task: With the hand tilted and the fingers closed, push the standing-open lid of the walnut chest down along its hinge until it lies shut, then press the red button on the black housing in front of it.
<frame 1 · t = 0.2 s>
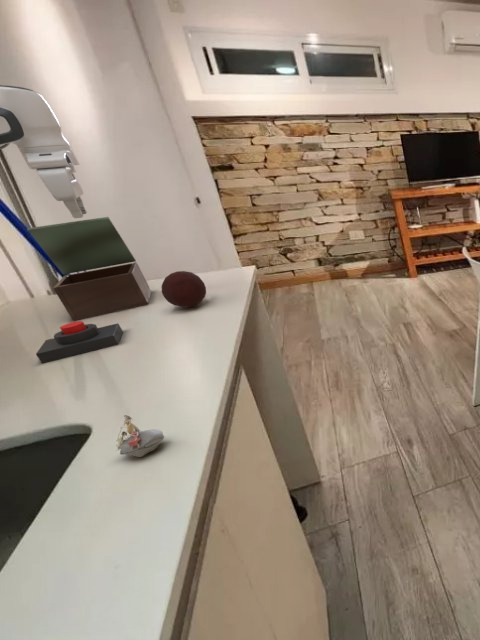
hand: (80, 216, 123), 23 cm above the worktop, tool pointing down, fingers open, 8 cm apart
dark brown oval ball: (192, 306, 124), on the worktop
figurine: (146, 452, 68), on the worktop
chest lid: (85, 246, 124), point 16 cm above the worktop, hinge at 62.1°
button box: (85, 346, 104), on the worktop
chest: (115, 305, 128), on the worktop
button: (73, 328, 102), point 4 cm above the worktop, slide at 0.1 cm
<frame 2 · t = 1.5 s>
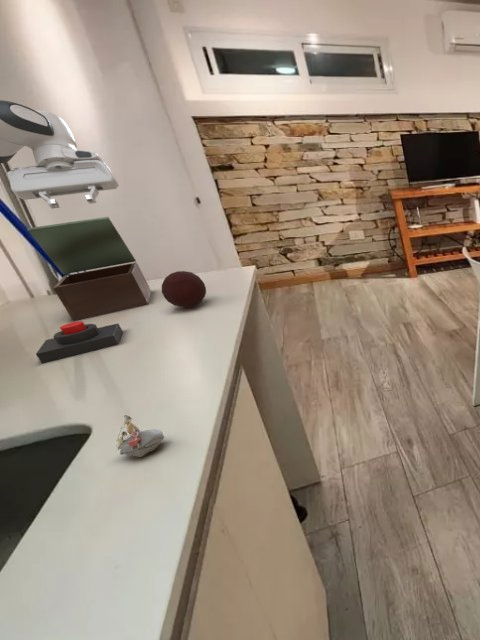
hand: (73, 204, 128), 25 cm above the worktop, tool tilted 45°, fingers open, 6 cm apart
nothing on the worktop moved.
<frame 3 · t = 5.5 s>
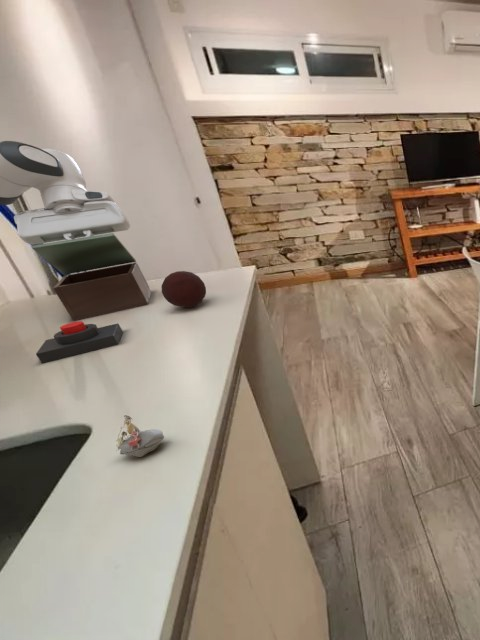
hand: (83, 248, 121), 16 cm above the worktop, tool tilted 45°, fingers closed
chest lid: (88, 254, 123), point 14 cm above the worktop, hinge at 39.4°
everything else where it was.
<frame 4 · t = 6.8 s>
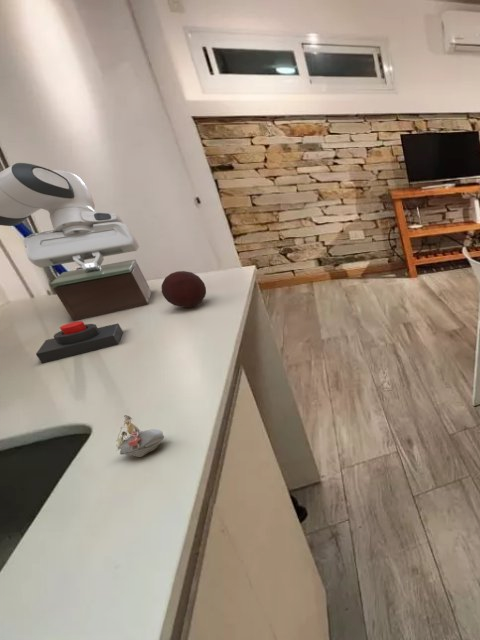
hand: (92, 270, 121), 11 cm above the worktop, tool tilted 45°, fingers closed, pressing on chest lid
chest lid: (96, 272, 124), point 10 cm above the worktop, hinge at 1.2°, touching gripper
everything else where it was.
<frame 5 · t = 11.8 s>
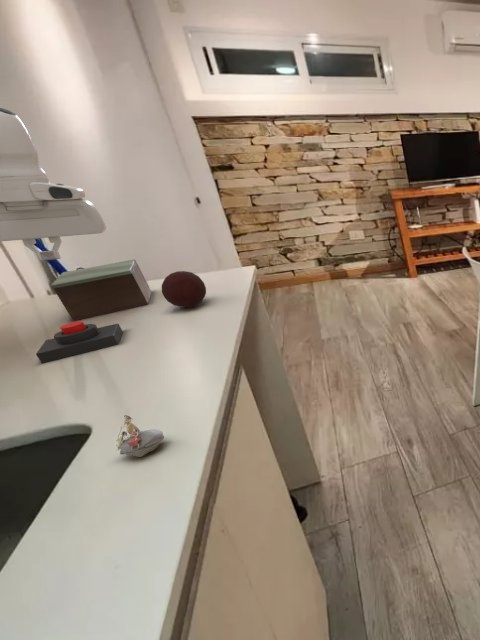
hand: (50, 259, 101), 18 cm above the worktop, tool pointing down, fingers closed
chest lid: (96, 272, 124), point 9 cm above the worktop, hinge at -0.2°, touching chest
everything else where it was.
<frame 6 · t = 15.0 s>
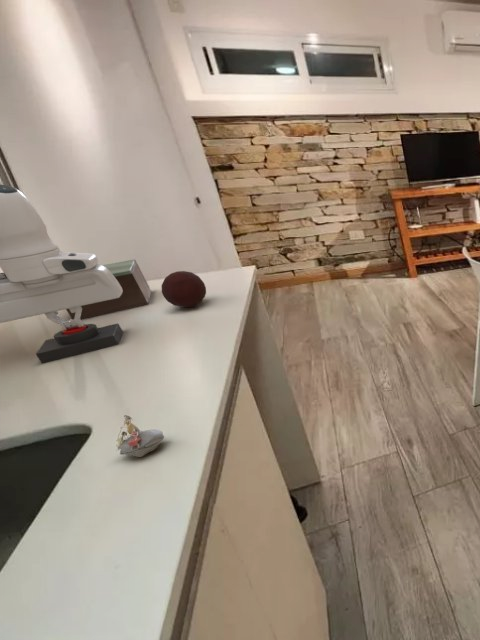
hand: (74, 328, 102), 4 cm above the worktop, tool pointing down, fingers closed, pressing on button
button: (76, 332, 103), point 4 cm above the worktop, slide at -0.8 cm, touching gripper
everything else where it was.
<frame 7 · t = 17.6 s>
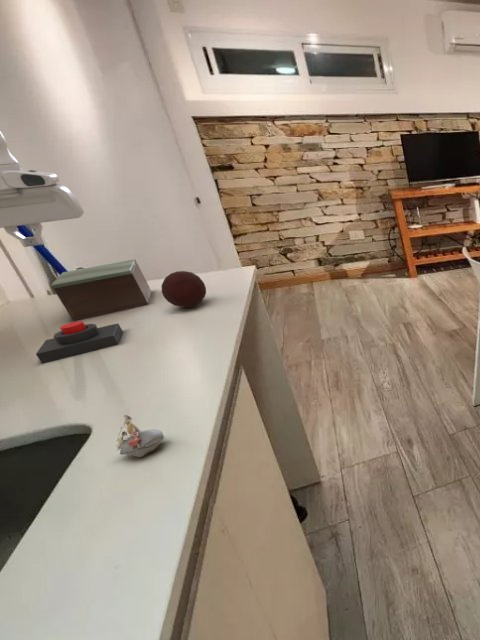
hand: (34, 245, 105), 21 cm above the worktop, tool pointing down, fingers closed
button: (73, 328, 102), point 4 cm above the worktop, slide at 0.1 cm
everything else where it was.
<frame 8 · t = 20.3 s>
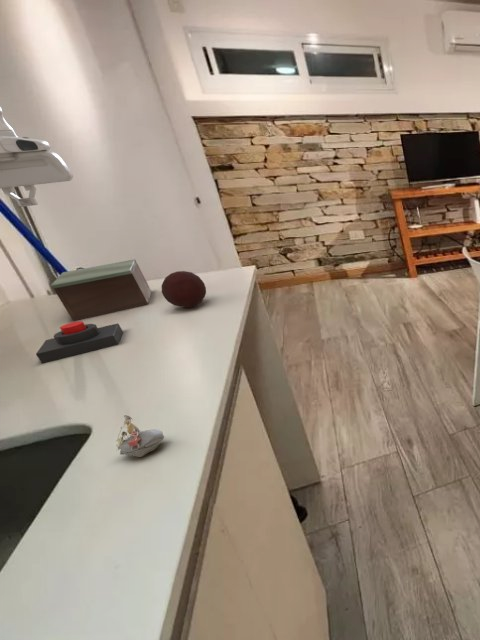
hand: (29, 205, 117), 27 cm above the worktop, tool pointing down, fingers closed
nothing on the worktop moved.
at the end: chest lid at +0° (first picture: +62°); button pushed in 1.0 cm at the most during the clip, back to where it started at the end; button slide at 0.1 cm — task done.
